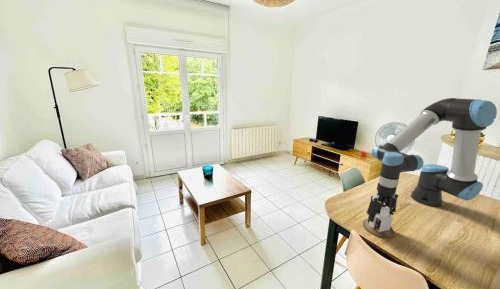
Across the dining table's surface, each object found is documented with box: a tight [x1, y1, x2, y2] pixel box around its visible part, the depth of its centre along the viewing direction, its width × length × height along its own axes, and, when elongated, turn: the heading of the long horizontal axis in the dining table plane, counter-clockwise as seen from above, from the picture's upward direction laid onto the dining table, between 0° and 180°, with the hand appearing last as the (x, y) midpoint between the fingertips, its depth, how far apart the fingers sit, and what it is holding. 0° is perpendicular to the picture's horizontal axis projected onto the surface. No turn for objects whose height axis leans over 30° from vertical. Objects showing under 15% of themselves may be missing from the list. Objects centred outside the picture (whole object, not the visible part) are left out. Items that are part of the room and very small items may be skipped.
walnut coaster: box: [362, 218, 394, 239], centre depth 104 cm, size 13×13×1 cm
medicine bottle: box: [367, 203, 393, 232], centre depth 102 cm, size 7×7×12 cm
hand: (378, 225), depth 104 cm, fingers open, 8 cm apart
